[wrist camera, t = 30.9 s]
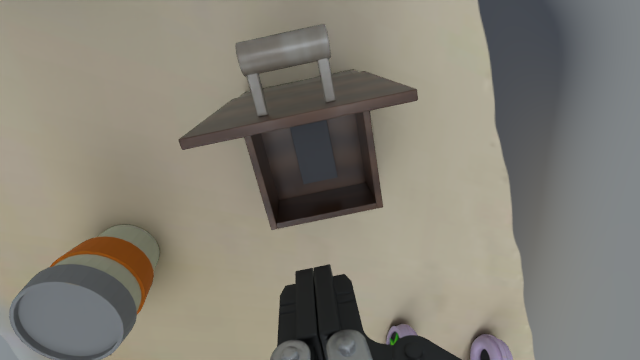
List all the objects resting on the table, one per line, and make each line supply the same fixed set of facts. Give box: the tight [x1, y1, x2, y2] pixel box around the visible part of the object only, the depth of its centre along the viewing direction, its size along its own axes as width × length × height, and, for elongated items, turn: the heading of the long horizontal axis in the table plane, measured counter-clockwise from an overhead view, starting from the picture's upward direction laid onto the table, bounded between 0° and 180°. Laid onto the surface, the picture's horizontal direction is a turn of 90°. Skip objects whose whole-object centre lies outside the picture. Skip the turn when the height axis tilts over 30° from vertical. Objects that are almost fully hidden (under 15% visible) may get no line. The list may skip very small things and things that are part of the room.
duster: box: [290, 120, 338, 184], centre depth 44 cm, size 8×4×5 cm, turn 12°
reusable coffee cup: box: [9, 225, 160, 360], centre depth 45 cm, size 13×13×15 cm
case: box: [239, 69, 383, 230], centre depth 43 cm, size 17×15×8 cm
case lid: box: [179, 24, 418, 150], centre depth 27 cm, size 17×15×5 cm
